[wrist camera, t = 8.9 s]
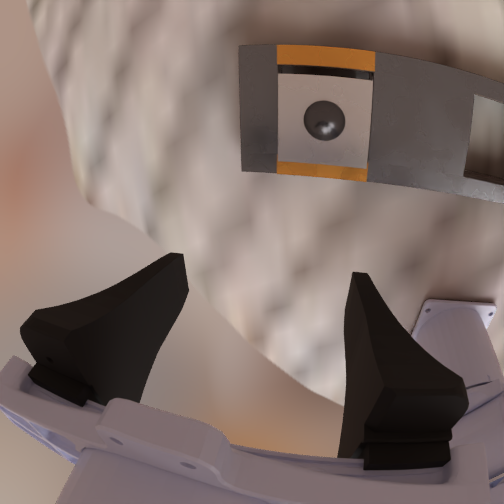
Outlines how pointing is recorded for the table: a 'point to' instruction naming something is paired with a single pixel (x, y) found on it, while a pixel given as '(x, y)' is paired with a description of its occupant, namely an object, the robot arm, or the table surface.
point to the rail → (376, 118)
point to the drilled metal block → (324, 119)
